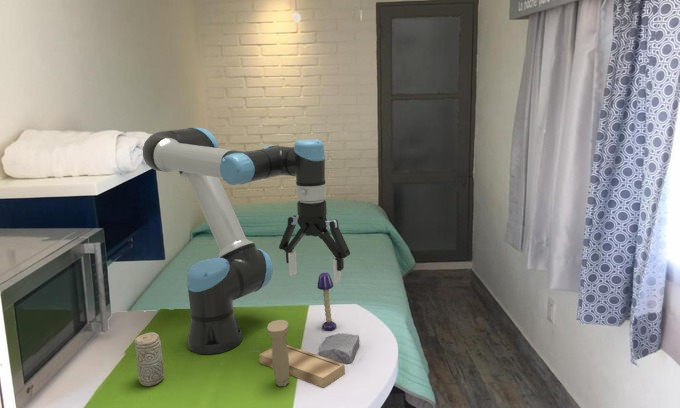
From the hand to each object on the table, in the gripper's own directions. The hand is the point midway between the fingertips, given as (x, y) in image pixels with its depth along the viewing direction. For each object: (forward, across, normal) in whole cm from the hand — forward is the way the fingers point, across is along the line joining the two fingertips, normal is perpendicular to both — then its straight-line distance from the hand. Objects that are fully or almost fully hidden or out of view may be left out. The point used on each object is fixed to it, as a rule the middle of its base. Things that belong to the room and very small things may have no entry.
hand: (315, 278), depth 149 cm
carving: (+21, -30, -32) cm, 48 cm away
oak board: (+20, +2, -12) cm, 23 cm away
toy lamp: (+20, -3, +12) cm, 24 cm away
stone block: (+20, +7, -1) cm, 21 cm away
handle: (+20, +2, -20) cm, 28 cm away
